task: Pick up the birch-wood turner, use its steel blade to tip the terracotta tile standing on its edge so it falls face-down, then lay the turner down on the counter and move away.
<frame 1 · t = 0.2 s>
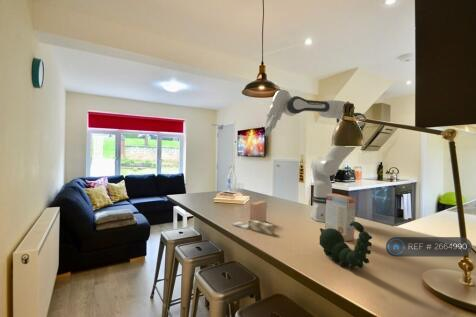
hand: (266, 135, 152), 52 cm above the worktop, tool tilted 20°, fingers open, 8 cm apart
cracker box: (338, 236, 123), on the worktop
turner: (260, 231, 128), on the worktop
toy figurine: (339, 261, 95), on the worktop
tile: (257, 222, 142), on the worktop
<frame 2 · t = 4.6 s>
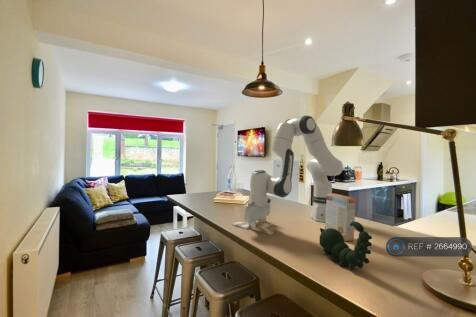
hand: (257, 226, 129), 2 cm above the worktop, tool pointing down, fingers closed on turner, 3 cm apart
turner: (261, 230, 127), on the worktop, touching gripper
everything else where it was.
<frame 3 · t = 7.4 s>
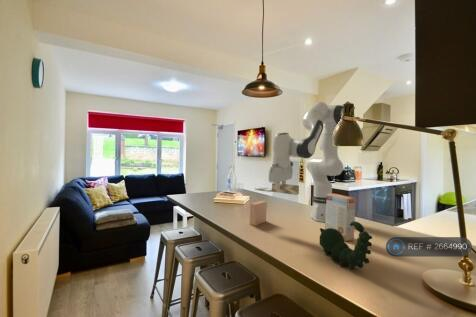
hand: (280, 189, 129), 22 cm above the worktop, tool pointing down, fingers closed on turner, 3 cm apart
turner: (285, 192, 127), point 20 cm above the worktop, touching gripper
everything else where it was.
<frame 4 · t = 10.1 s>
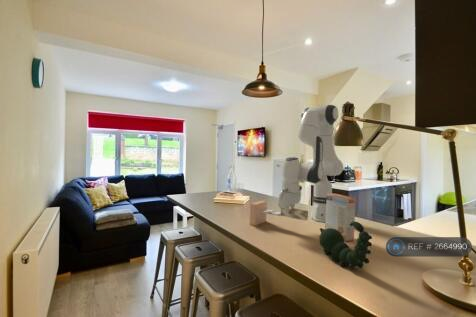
hand: (289, 213, 130), 9 cm above the worktop, tool pointing down, fingers closed on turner, 3 cm apart
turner: (293, 217, 128), point 7 cm above the worktop, touching gripper
everything else where it was.
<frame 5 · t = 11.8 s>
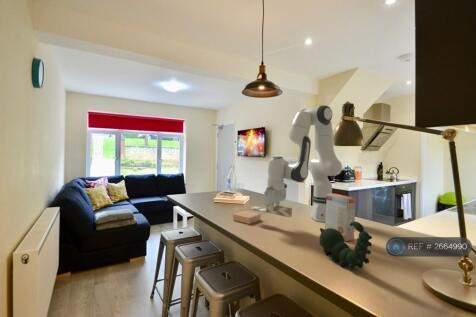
hand: (274, 210, 135), 9 cm above the worktop, tool pointing down, fingers closed on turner, 3 cm apart
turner: (278, 214, 133), point 7 cm above the worktop, touching gripper
tile: (255, 219, 143), point 2 cm above the worktop, tilted 90°
everything else where it was.
when the fingers open (3 cm above the worktop, at t = 15.6 s): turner drops 2 cm, on the worktop.
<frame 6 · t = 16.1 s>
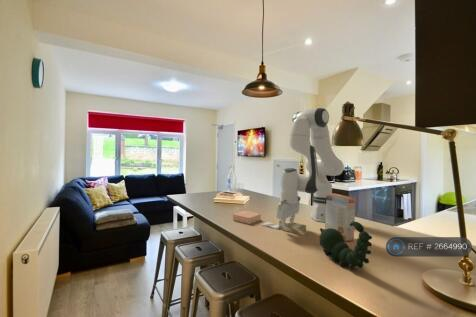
hand: (287, 224, 130), 3 cm above the worktop, tool pointing down, fingers open, 8 cm apart
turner: (292, 231, 129), on the worktop
everything else where it was.
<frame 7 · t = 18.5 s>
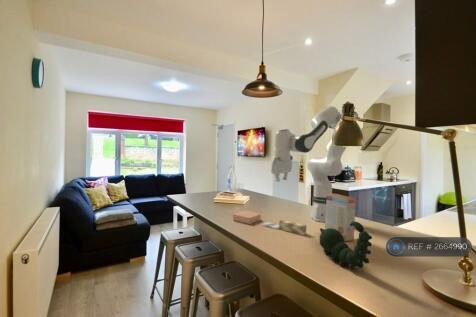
hand: (281, 180, 143), 25 cm above the worktop, tool pointing down, fingers open, 8 cm apart
nothing on the worktop moved.
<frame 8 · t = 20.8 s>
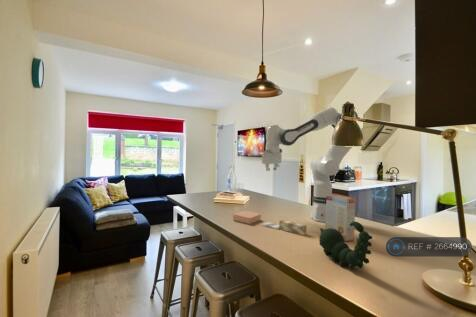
hand: (271, 170, 162), 29 cm above the worktop, tool pointing down, fingers open, 8 cm apart
nothing on the worktop moved.
at the end: tile tilted 90°; the gripper is holding nothing; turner on the worktop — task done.
